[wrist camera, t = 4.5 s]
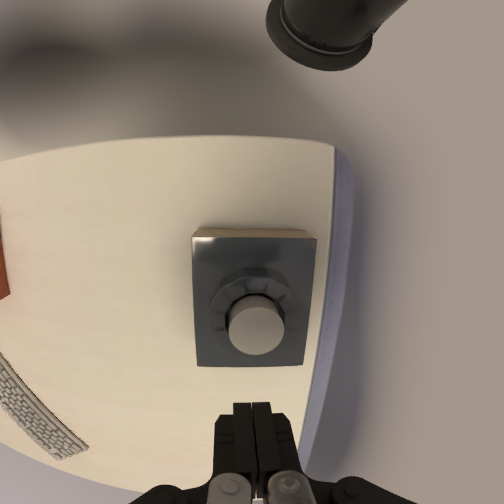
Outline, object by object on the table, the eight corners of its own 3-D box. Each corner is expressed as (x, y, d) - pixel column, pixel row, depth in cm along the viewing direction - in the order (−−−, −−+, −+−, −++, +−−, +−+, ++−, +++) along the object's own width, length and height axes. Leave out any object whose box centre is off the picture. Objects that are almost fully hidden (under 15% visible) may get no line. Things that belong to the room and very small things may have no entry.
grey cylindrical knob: (228, 294, 20) (228, 307, 18) (281, 294, 20) (286, 306, 18) (228, 340, 20) (228, 355, 18) (277, 339, 21) (282, 354, 19)
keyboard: (89, 447, 30) (85, 455, 28) (60, 454, 31) (56, 462, 29) (-37, 293, 23) (-45, 298, 21) (-50, 322, 24) (-57, 327, 22)
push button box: (197, 227, 24) (187, 241, 18) (304, 230, 25) (325, 244, 19) (201, 342, 26) (194, 381, 21) (294, 342, 27) (308, 379, 21)
